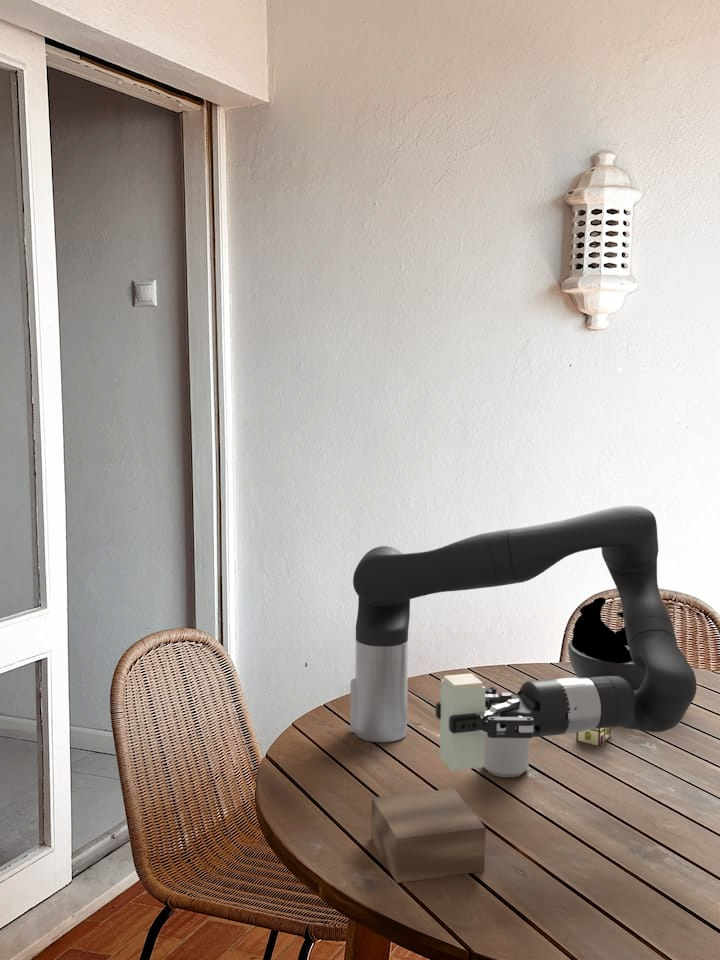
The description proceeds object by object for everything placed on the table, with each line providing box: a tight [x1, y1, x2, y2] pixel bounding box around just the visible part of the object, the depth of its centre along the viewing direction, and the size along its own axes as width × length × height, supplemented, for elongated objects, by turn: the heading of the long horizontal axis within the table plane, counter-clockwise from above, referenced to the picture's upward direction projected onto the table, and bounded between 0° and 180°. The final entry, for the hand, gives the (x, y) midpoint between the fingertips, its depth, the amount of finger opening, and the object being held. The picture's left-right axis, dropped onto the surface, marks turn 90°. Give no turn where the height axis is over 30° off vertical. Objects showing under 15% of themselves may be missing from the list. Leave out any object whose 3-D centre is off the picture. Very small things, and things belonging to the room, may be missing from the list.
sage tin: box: [439, 673, 487, 772], centre depth 133 cm, size 5×5×12 cm
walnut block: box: [370, 788, 487, 884], centre depth 133 cm, size 12×12×6 cm
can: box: [483, 707, 530, 778], centre depth 160 cm, size 8×8×12 cm
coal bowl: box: [567, 596, 646, 691], centre depth 194 cm, size 20×20×19 cm
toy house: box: [576, 727, 612, 748], centre depth 174 cm, size 6×7×8 cm
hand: (443, 717), depth 132 cm, fingers closed on sage tin, 4 cm apart
